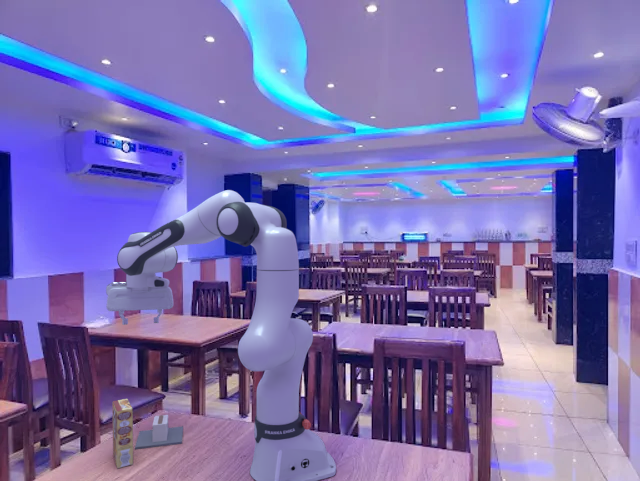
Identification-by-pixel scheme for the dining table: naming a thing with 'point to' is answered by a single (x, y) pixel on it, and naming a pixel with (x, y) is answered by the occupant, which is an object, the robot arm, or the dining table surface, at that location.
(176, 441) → the mat
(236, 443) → the dining table surface
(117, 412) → the candy box
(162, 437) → the block
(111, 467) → the dining table surface
